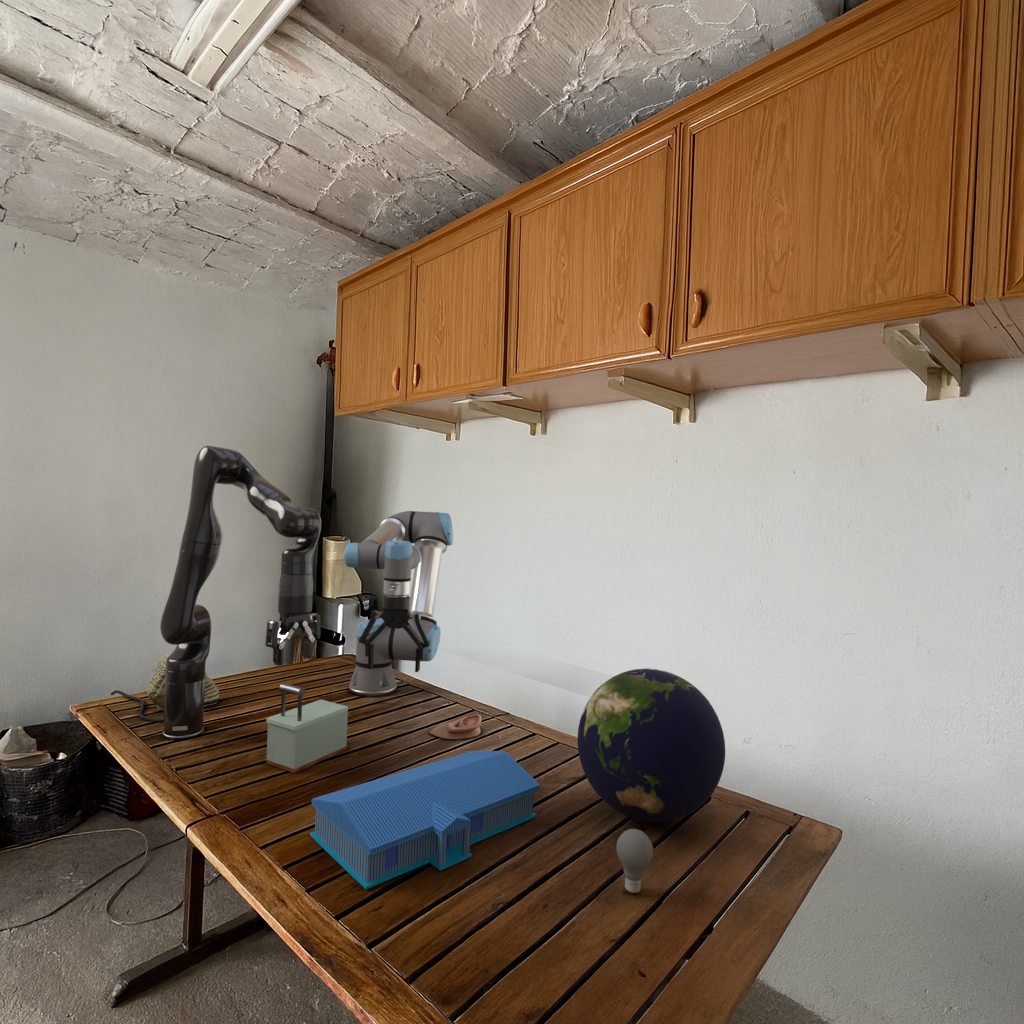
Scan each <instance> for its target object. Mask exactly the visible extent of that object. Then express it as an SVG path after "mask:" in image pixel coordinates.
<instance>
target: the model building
mask: <svg viewBox="0 0 1024 1024" xmlns="http://www.w3.org/2000/svg"><path fill="white" fill-rule="evenodd" d="M538 791H541V784H540V783H539V782H538V781H537V780H536V779H535V778H534V777H533V776H532V775H531V774H530V773H529V772H527V771H526V769H524V768H523V766H521V764H519V762H517V761H516V760H515V759H514V757H512V756H511V755H510V754H509V753H508V752H507V750H471V751H467V752H464V753H460V754H457V755H454V756H449V757H447V758H444V759H441V760H437V761H434V762H431V763H427V764H423V765H420V766H417V767H414V768H410V769H407V770H403V771H400V772H397V773H394V774H390V775H387V776H384V777H381V778H380V777H379V778H377V779H374V780H371V781H366V782H364V783H360V784H357V785H354V786H350V787H347V788H344V789H339V790H337V791H334V792H330V793H327V794H324V795H319V796H316V797H314V798H311V806H313V807H314V808H315V817H314V831H311V832H310V833H309V836H310V838H312V839H313V840H314V841H315V842H316V843H317V845H319V846H320V847H321V848H322V849H323V850H325V852H326V853H327V854H329V856H330V857H331V858H333V859H334V860H335V861H336V862H337V863H338V864H339V865H340V866H341V867H342V868H343V869H344V870H345V871H346V872H347V874H349V875H350V876H351V877H352V878H353V879H354V880H355V881H356V882H357V883H359V885H361V886H362V887H363V888H364V890H369V889H371V888H373V887H375V886H378V885H381V884H382V883H385V882H388V881H389V880H392V879H394V878H397V877H399V876H402V875H404V874H406V873H408V872H410V871H413V870H416V869H417V868H420V867H423V866H424V865H427V864H429V863H430V864H431V865H432V866H433V867H434V868H436V869H437V870H438V871H440V872H441V871H443V870H445V869H448V868H450V867H452V866H455V865H457V864H459V863H461V862H463V861H465V860H468V859H471V858H473V853H471V852H470V851H471V846H472V845H474V844H476V843H478V842H482V841H484V840H486V839H488V838H490V837H493V836H495V835H497V834H499V833H502V832H505V831H506V830H507V831H508V830H510V829H512V828H513V827H516V826H519V825H520V824H523V823H525V822H527V821H530V820H532V819H535V818H537V817H538V814H537V813H535V812H534V798H535V797H534V796H535V792H538Z"/></svg>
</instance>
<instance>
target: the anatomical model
mask: <svg viewBox="0 0 1024 1024" xmlns="http://www.w3.org/2000/svg"><path fill="white" fill-rule="evenodd" d="M481 724H482V716H481V714H477V713H476V714H471V715H467V716H463V717H461V718H458V719H455V720H452V721H450V722H446V723H441V724H439V725H437V726H435V727H434V728H432V729H431V730H430V731H429V733H430V735H432V736H435V737H438V738H442V739H446V740H463V739H469V738H474V737H477V736H479V735H480V734H481V727H480V726H481Z"/></svg>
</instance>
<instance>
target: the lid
mask: <svg viewBox="0 0 1024 1024" xmlns="http://www.w3.org/2000/svg"><path fill="white" fill-rule="evenodd" d="M278 689H279V691H280V692H281V699H280V700H281V701H280V702H281V703H280V713H278V714H274V715H271V716H269V717H266V721H265V722H266V723H267V724H268V723H271V724H274V725H277V726H280V727H284V728H287V729H290V730H294V731H295V730H298V729H300V728H303V727H306V726H308V725H311V724H314V723H316V722H319V721H321V720H324V719H327V718H329V717H332V716H335V715H337V714H340V713H343V712H345V711H348V712H349V706H347V705H344V704H340V703H336V702H333V701H328V700H325V699H319V700H316V701H312V702H310V703H306V704H304V705H303V696H304V695H305V693H306V689H305V688H304V687H300V686H297V685H293V684H288V683H285V682H283V683H281V684H280V685H279V687H278ZM287 694H290V695H293V696H296V697H297V707H295V708H292V709H289V710H286V701H287V699H286V697H287V696H286V695H287Z"/></svg>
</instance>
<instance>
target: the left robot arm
mask: <svg viewBox="0 0 1024 1024" xmlns="http://www.w3.org/2000/svg"><path fill="white" fill-rule="evenodd" d="M216 484H219V485H226V486H227V485H231V486H234V487H237V488H239V489H241V490H243V491H244V492H245V495H246V499H247V502H248V503H249V504H250V505H251V506H252V507H253V508H254V510H256V511H257V512H259V513H260V514H261V515H263V516H264V517H265V518H266V519H267V520H268V522H269V524H270V526H271V527H272V528H273V530H274V531H275V532H276V534H278V535H280V536H282V537H284V538H289V539H295V538H296V539H295V541H294V543H293V545H292V546H289V547H287V548H284V549H283V550H282V551H281V555H280V556H281V557H280V575H279V581H278V599H277V600H278V603H277V611H278V613H279V619H278V620H271V619H269V620H268V621H267V622H266V635H265V647H267V648H271V649H272V662H273V664H274V665H275V666H279V667H280V666H283V665H284V647H285V645H286V644H287V642H289V641H290V640H291V638H294V637H297V636H301V638H302V639H303V643H302V657H303V658H304V659H311V658H312V656H313V652H314V642H315V640H317V639H320V638H321V614H320V613H314V612H312V610H313V590H314V581H313V565H314V564H313V561H314V560H313V559H314V554H315V551H316V548H317V545H318V541H319V538H320V534H321V531H322V518H321V515H320V513H319V512H318V510H316V509H314V508H313V507H301V506H300V507H295V506H294V507H293V505H294V504H293V501H292V499H291V498H290V497H289V496H288V495H287V494H286V493H284V492H283V491H281V490H280V489H279V488H278V487H276V486H275V485H273V484H272V483H271V482H269V481H268V480H267V479H266V478H264V476H263V475H261V474H260V473H259V471H258V470H257V469H256V468H255V467H254V466H253V465H252V464H251V462H250V461H249V460H248V459H247V458H246V457H245V456H244V455H243V454H242V453H241V452H239V451H237V450H235V449H230V448H226V447H220V446H214V445H205V446H203V447H202V448H200V449H199V451H198V452H197V455H196V457H195V460H194V463H193V469H192V478H191V490H190V497H189V504H188V511H187V515H186V516H187V517H186V520H185V525H184V529H183V533H182V536H181V541H180V542H181V543H180V547H179V550H178V551H179V552H178V558H177V563H176V567H175V571H174V576H173V579H172V582H171V583H172V584H171V588H170V591H169V594H168V597H167V600H166V603H165V605H164V609H163V612H162V615H161V619H160V623H159V625H160V626H159V631H160V634H161V637H162V638H163V640H164V641H165V642H166V643H167V644H169V645H172V646H176V647H175V648H174V649H173V651H172V652H171V653H170V654H168V655H169V656H168V658H167V659H166V674H165V705H164V710H163V717H162V718H152V717H150V716H145V715H143V714H142V713H143V711H144V708H145V706H146V702H145V700H144V699H143V698H141V697H139V696H133V695H130V694H128V693H125V692H124V691H121V690H118V689H117V690H114V691H112V692H111V693H110V696H114V695H115V694H119V695H121V696H122V697H125V698H126V699H130V700H135V701H138V702H141V705H140V709H139V711H138V713H137V716H138V717H139V718H140V719H142V720H144V721H148V722H155V723H156V722H157V723H161V722H163V731H162V737H164V738H166V739H169V740H185V739H190V738H191V739H192V738H194V737H197V736H199V735H202V734H203V732H204V730H205V729H204V722H205V721H204V718H205V706H204V693H205V672H206V664H207V663H206V662H207V658H208V656H209V653H210V649H211V639H212V617H211V614H210V612H209V610H208V609H207V608H206V607H205V606H203V605H201V604H197V602H198V601H197V600H198V597H199V594H200V591H201V589H202V587H203V586H204V584H205V583H206V581H207V580H208V578H209V577H210V576H211V574H212V572H213V570H214V569H215V567H216V565H217V562H218V561H219V557H220V553H221V547H222V543H223V536H224V535H223V530H222V526H221V523H220V521H219V519H218V516H217V513H216V510H215V506H214V495H215V488H216Z"/></svg>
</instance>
